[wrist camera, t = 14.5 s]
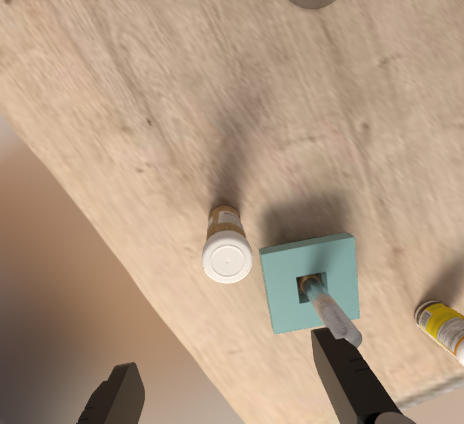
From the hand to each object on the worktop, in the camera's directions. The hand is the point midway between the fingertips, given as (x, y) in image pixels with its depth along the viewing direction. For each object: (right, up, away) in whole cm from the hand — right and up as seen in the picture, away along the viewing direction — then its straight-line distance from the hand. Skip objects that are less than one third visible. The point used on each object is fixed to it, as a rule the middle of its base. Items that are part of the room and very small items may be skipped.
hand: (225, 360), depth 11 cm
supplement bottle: (+33, -10, +28) cm, 44 cm away
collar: (+11, -3, +23) cm, 25 cm away
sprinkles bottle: (-1, +6, +23) cm, 24 cm away
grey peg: (+11, -2, +25) cm, 28 cm away
